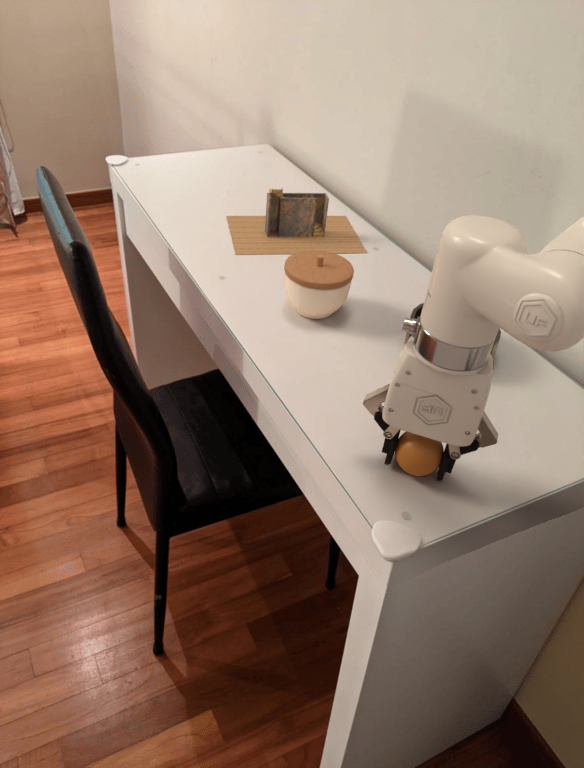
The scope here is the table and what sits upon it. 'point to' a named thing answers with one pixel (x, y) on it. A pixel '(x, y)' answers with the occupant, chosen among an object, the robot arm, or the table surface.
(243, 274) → the table surface
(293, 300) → the trinket box
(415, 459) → the orange ball
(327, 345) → the table surface
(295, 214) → the architectural model on board
